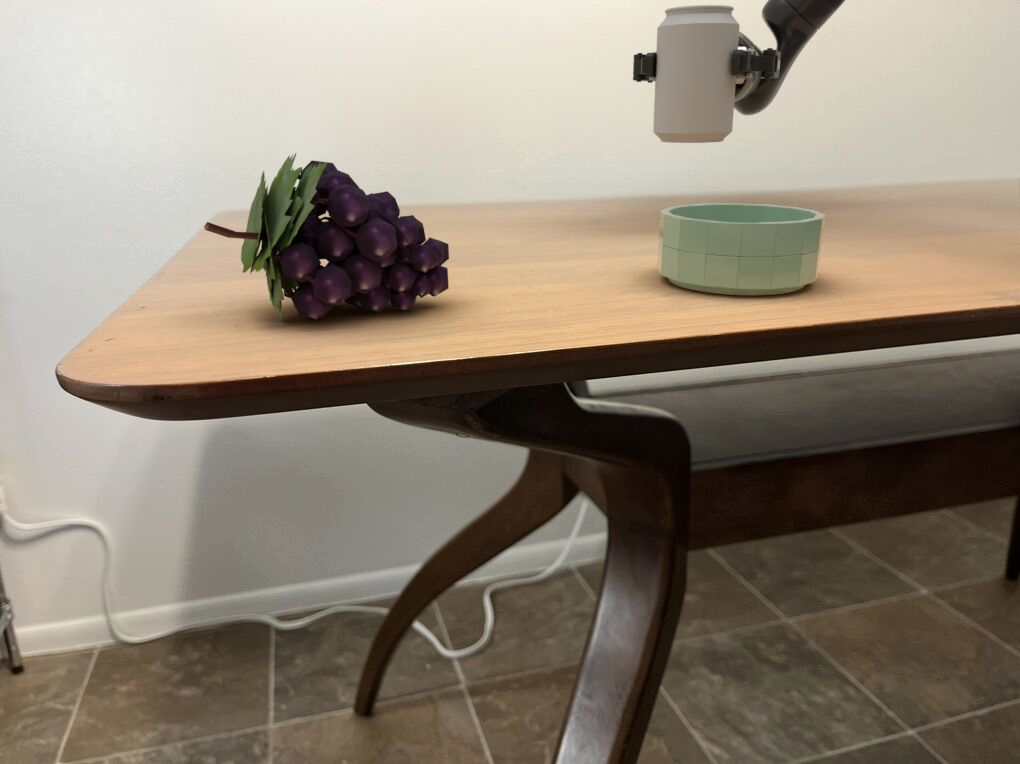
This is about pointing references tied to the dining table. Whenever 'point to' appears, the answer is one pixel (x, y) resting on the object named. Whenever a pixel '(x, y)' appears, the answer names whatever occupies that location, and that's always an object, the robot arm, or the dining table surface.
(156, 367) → the dining table surface
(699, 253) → the bowl
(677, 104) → the can
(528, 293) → the dining table surface
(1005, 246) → the dining table surface
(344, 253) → the fruit
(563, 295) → the dining table surface
